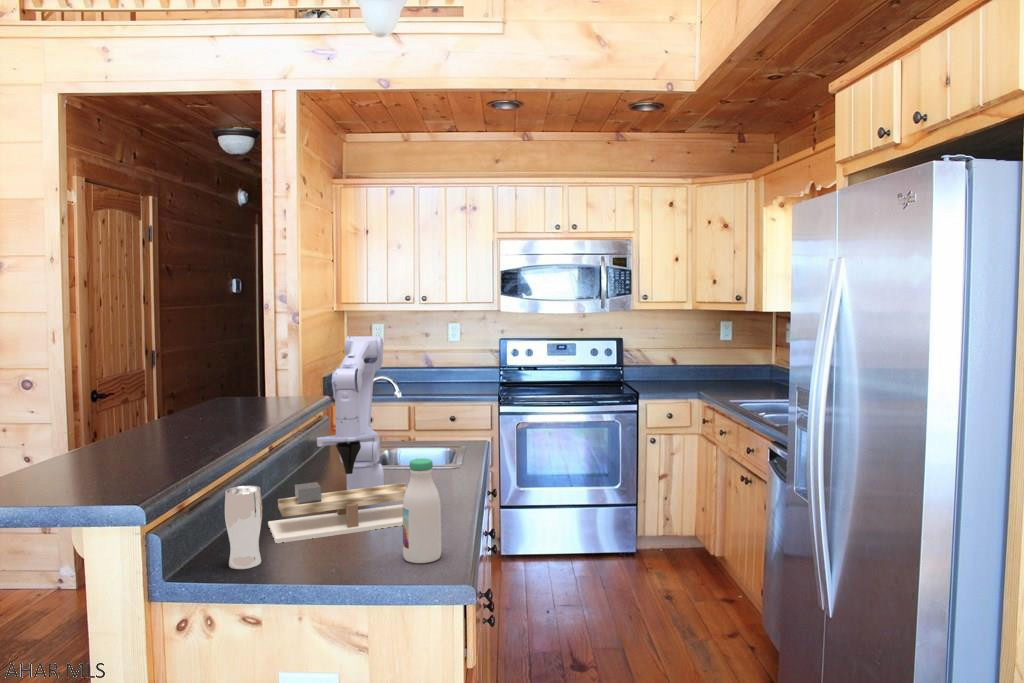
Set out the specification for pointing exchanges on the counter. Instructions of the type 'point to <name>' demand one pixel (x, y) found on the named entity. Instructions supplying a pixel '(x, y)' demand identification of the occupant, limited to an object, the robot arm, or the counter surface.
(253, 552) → the beer glass
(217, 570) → the counter surface
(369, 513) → the beam stand
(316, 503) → the balance beam
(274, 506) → the counter surface
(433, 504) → the milk bottle
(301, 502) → the block
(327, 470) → the counter surface
